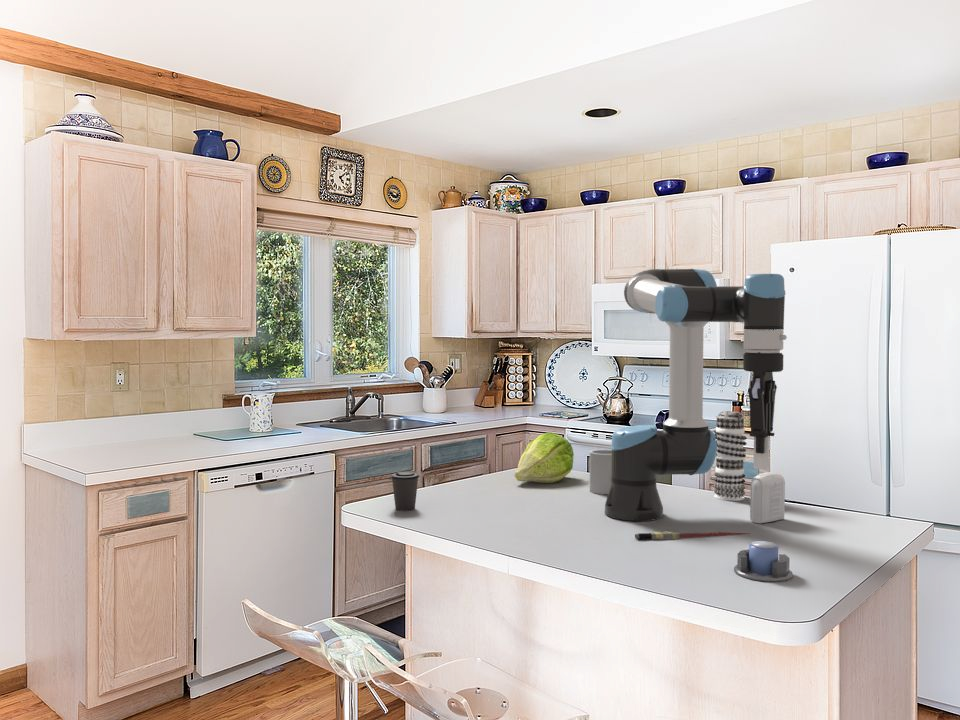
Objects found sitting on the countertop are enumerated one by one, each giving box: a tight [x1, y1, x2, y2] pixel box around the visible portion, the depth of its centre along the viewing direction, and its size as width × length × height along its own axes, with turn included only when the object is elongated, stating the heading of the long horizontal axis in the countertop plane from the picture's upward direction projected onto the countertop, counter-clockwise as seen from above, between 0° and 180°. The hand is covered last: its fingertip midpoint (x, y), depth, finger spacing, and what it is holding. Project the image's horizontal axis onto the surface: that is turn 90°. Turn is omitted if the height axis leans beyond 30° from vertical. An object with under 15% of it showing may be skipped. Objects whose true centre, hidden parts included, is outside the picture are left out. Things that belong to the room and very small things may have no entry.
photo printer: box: [749, 471, 786, 524], centre depth 196 cm, size 10×4×12 cm, turn 123°
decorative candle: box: [713, 410, 748, 502], centre depth 223 cm, size 9×9×25 cm
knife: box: [634, 530, 751, 540], centre depth 183 cm, size 29×2×5 cm
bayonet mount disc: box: [733, 548, 794, 583], centre depth 154 cm, size 11×11×4 cm
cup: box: [589, 449, 612, 495], centre depth 232 cm, size 9×9×12 cm
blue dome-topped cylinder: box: [748, 540, 779, 575], centre depth 153 cm, size 6×6×5 cm
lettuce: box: [514, 431, 575, 484], centre depth 249 cm, size 15×25×16 cm
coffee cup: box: [389, 470, 421, 512], centre depth 210 cm, size 8×8×10 cm
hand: (761, 468), depth 154 cm, fingers closed
